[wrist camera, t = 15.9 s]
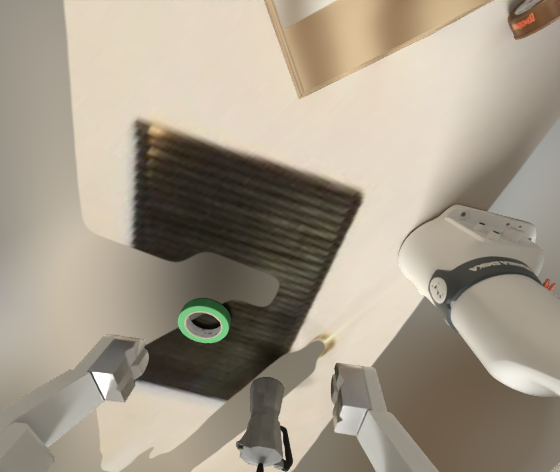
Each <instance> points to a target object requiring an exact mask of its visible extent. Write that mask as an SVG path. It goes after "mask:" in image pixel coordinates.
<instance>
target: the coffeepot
mask: <svg viewBox="0 0 560 472" xmlns="http://www.w3.org/2000/svg"><path fill="white" fill-rule="evenodd" d="M283 393H284V387H283V385H282V383H281V382H279V381H278V380H276V379H274V378H270V377H262V378H258V379H256V380H254V381H253V383H252V385H251V388H250V409H251V410H250V412H251V419H250V421H249V423H248V427H247V431H246V433H245V434H244V436H243V437H242V438H241V440H240V441H237V442H236V447H237V448H238V450H239V451H240V452H241V454H240V457H241V458H242V459H243V460H244V461H245V462H246V463H248V464H250V465H256V466H258V467H257V471H256V472H264V469H263V467H267V466H272V465H273V466H274V468H277V469H279V470H280V469H281V470H283V471H285V472H287V471H288V470H289V469H290V467H291V466H292V463H293V458H292V453H291V449H290V443H289V438H288V433H287V429H286V428H285V427H283V426H280V423H279V421H278V416H279V413H280V409H281V404H282V398H283ZM281 431H282V432H283V443H284V447H285V457H286V461H285V460H284V459H282V458H283V452H282V441H281Z"/></svg>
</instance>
